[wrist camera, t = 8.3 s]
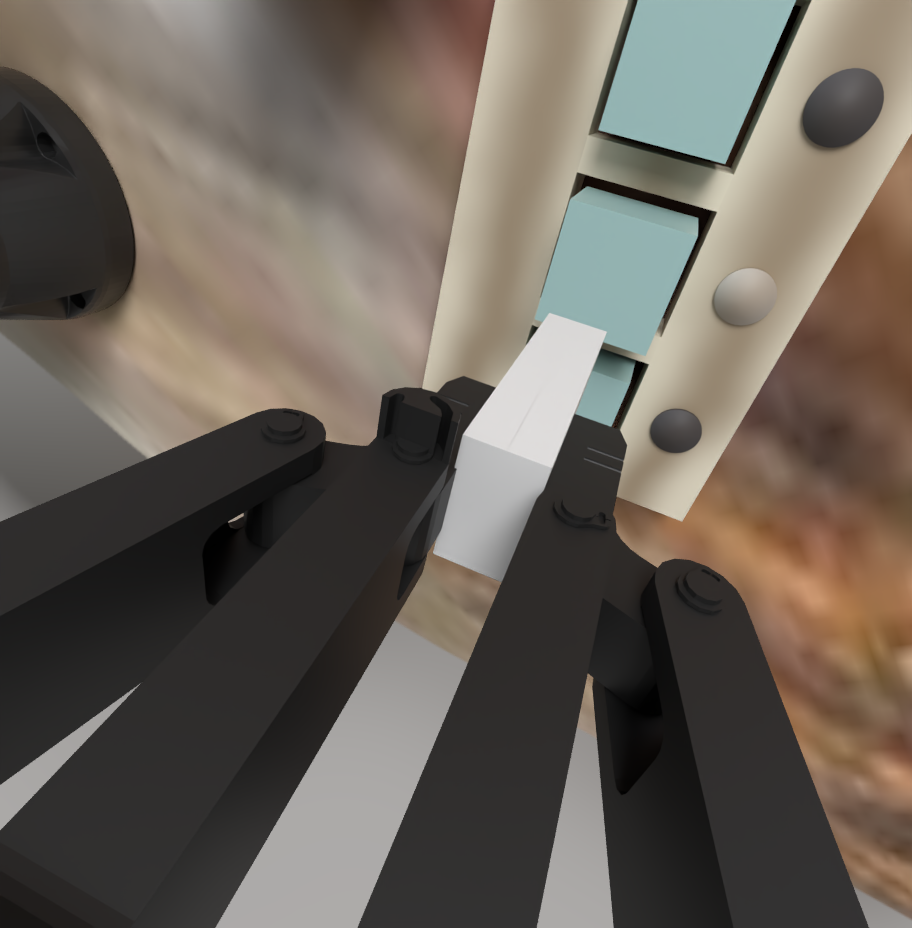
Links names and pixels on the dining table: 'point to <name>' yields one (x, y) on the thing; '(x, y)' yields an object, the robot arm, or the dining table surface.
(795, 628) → the dining table surface
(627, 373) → the button
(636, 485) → the board
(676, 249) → the button
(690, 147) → the button
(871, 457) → the dining table surface
